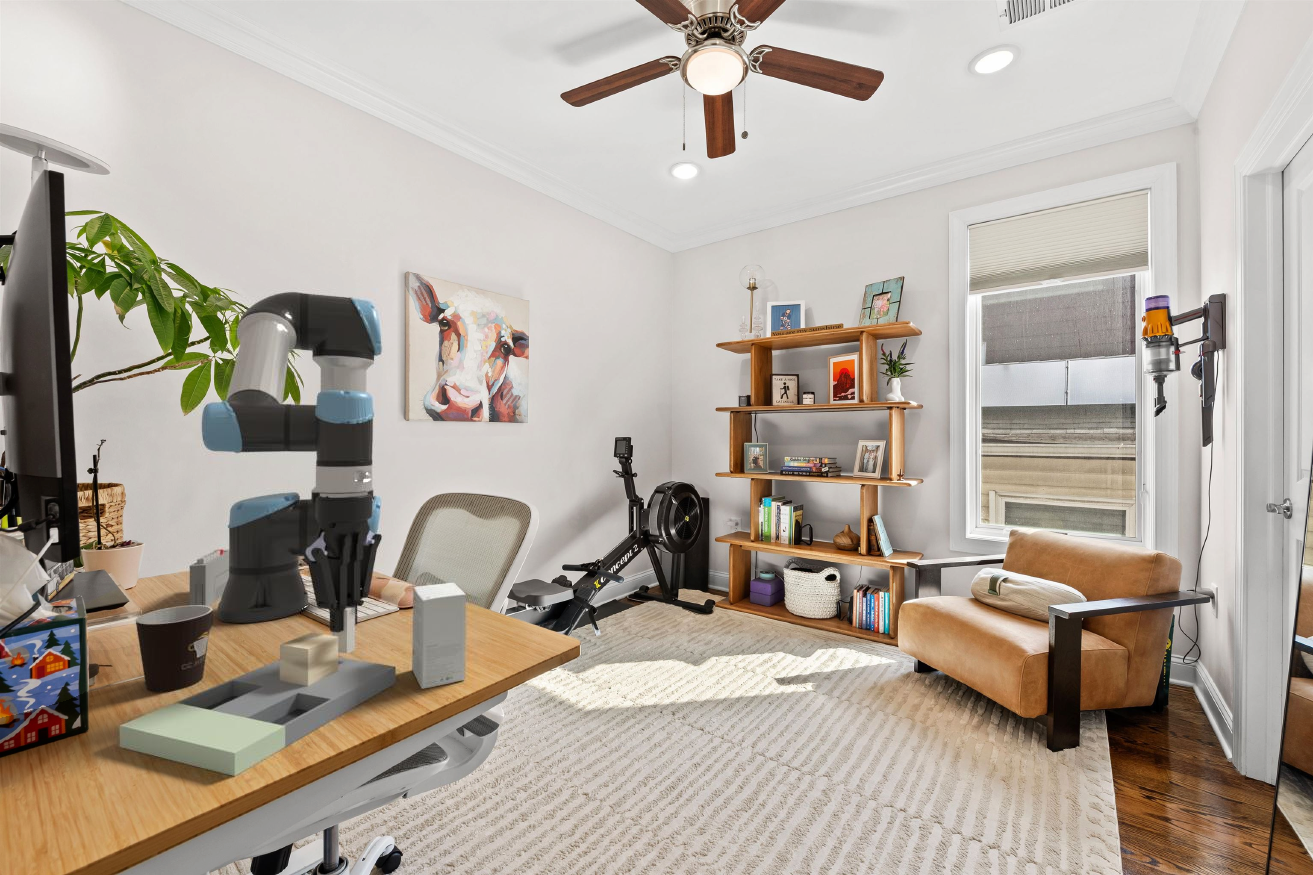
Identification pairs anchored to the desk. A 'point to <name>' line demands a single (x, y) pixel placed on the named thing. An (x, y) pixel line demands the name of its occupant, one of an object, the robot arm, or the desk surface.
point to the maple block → (308, 658)
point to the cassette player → (209, 578)
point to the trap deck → (252, 716)
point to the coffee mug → (174, 646)
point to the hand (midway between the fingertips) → (343, 650)
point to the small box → (439, 634)
